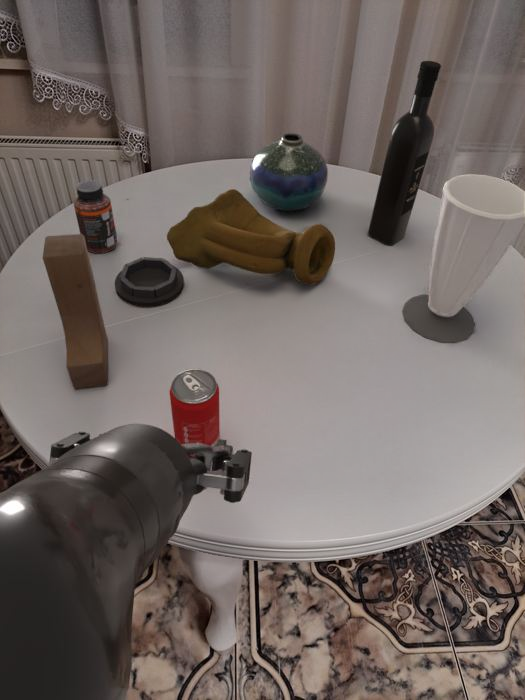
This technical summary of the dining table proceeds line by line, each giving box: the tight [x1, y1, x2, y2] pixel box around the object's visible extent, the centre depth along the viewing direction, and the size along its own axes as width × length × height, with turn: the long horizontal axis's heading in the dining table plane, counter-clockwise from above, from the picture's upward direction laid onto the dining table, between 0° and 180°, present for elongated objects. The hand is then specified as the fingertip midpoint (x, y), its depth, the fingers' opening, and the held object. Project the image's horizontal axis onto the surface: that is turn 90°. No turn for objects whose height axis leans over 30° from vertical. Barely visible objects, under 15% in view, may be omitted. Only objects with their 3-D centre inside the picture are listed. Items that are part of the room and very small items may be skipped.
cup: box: [402, 173, 525, 344], centre depth 74 cm, size 12×12×22 cm
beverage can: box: [168, 368, 221, 460], centre depth 57 cm, size 5×5×12 cm
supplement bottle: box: [73, 179, 118, 254], centre depth 86 cm, size 6×6×11 cm
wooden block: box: [42, 233, 109, 390], centre depth 64 cm, size 9×4×18 cm, turn 12°
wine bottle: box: [367, 60, 442, 246], centre depth 87 cm, size 6×6×30 cm
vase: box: [249, 132, 329, 212], centre depth 100 cm, size 15×15×13 cm
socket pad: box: [114, 256, 185, 308], centre depth 82 cm, size 11×11×2 cm
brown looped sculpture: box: [166, 188, 336, 285], centre depth 84 cm, size 18×13×22 cm
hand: (174, 445), depth 45 cm, fingers open, 8 cm apart
